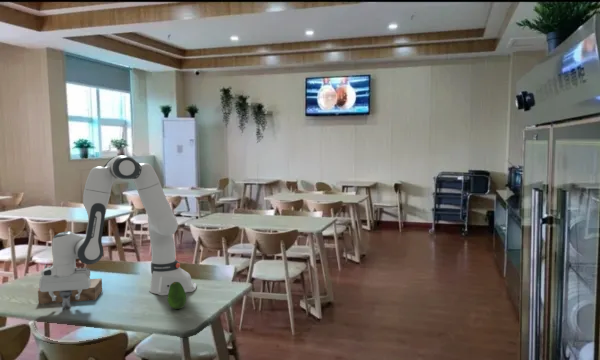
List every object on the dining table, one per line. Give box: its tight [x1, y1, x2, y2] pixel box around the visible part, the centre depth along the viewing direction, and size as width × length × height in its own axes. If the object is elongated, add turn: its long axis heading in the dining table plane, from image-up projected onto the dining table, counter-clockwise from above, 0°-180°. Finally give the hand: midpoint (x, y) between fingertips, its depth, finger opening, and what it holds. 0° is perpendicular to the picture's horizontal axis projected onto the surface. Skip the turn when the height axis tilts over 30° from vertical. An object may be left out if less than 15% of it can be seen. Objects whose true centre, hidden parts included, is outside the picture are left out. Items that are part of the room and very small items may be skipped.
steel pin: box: [59, 290, 72, 310], centre depth 201 cm, size 5×5×8 cm
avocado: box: [167, 282, 187, 310], centre depth 199 cm, size 8×8×12 cm
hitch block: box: [37, 278, 103, 305], centre depth 216 cm, size 24×14×6 cm, turn 101°
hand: (66, 299), depth 201 cm, fingers open, 8 cm apart
